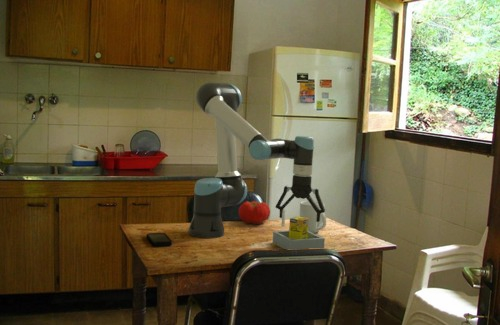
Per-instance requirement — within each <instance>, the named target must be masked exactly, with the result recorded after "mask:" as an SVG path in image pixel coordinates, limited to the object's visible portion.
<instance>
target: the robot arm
mask: <svg viewBox="0 0 500 325" xmlns="http://www.w3.org/2000/svg"><path fill="white" fill-rule="evenodd" d="M242 97H243V96H242V93H241V91H240V89H239V88H238V87H237V86H235V84H231V83H228V82H227V83H226V82H225V83H224V82H214V81H212V82H211V81H209V82H204V83H203V84H201V85H199V87H198V88H197V91H196V93H195V100H196V104H197V105H198V107H199V108H200V109H201V110H202V111H203V112H204V113H205V114H206V115H208V116H212V117H213V118H214V123H215V140H216V141H215V142H216V155H217V156H216V159H217V160H216V161H217V173H216V175H215V176H214V177H204V178H200V179H198V180H197V181H196V182H195V184H194V190H193V192H194V193H193V196H194V197H193V215H192V216H193V217H192V219H191V221H190V224H189V227H188V234H189V235H191V236H192V237H197V238H203V239H205V238H208V239H209V238H210V239H212V238H214V239H215V238H220V237H223V236H224V235H225V226H224V222H223V219H222V208H224V207H226V208H227V207H230V206H232V207H234V206H236V205H239V204H242V203H244V201H245V199H246V198H247V195H248V186H247V183H246V182H245V180H243V178H242V174H241V173H240V172H239V171H238V158H237V140H236V139H238V141H240V142H241V143H243V145H244V146H245V147H247V148H248V152H249V155H250V158H252V159H254V160H260V161H265V160H273V159H274V160H275V159H289V160H293V163H292V164H293V167H292V173H293V175H292V183H291V186H289V185H285V186H284V187H283V192H282V193H281V195H280V198H279V199H278V201H277V202H276V205H275V208H276V209H278V210H279V216H278V217H279V218H280V219H281V224H280V225H281V228H283V227H285V220H286V209H285V208H286V207H287V206H288V205H289V204H290V203H291V201H292V200H293V199H294V198H296V199H302V200H304V199H306V201H309V202H310V204H311V205H312V207H313V208H314V210H315V211H316V213H315V220H314V230H316V229H317V222H319V221H320V214H321V213H324V214H325V212H326V207H324V206H323V203H324V202H323V200H322V199H321V195H320V190H319V188H312V174H313V158H314V149H315V146H314V142H315V141H314V140H315V139H314V137H312V136H306V135H302V136H301V135H297V136H295V138H294V140H292V139H291V140H290V139H283V138H272V139H268V138H266V137H265V136H264V135H263V134H262V133H260V131H259V130H257V129H256V128H255V127H254V126H252V124H250V123H249V122H248V121H247V120H246V119H244V117H242V116H241V115H240V114H239V113H238V109H239V108H240V106H241V105H242V101H243V100H242V99H243V98H242ZM290 191H291V193H292V195H290V196H289V198H287V200H286V201H285V202H284V203H283V201H284V199H285V197H286V195H287V194H288V192H290ZM311 193H313V195H315V198H316V201H315V200H314V199H313V198H312V197H311V195H310V194H311ZM314 201H315V202H318V204H319V207H320V209H321V210H319V208H318V207H317V205H316V204H315V202H314ZM281 204H282V205H281Z"/></svg>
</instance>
